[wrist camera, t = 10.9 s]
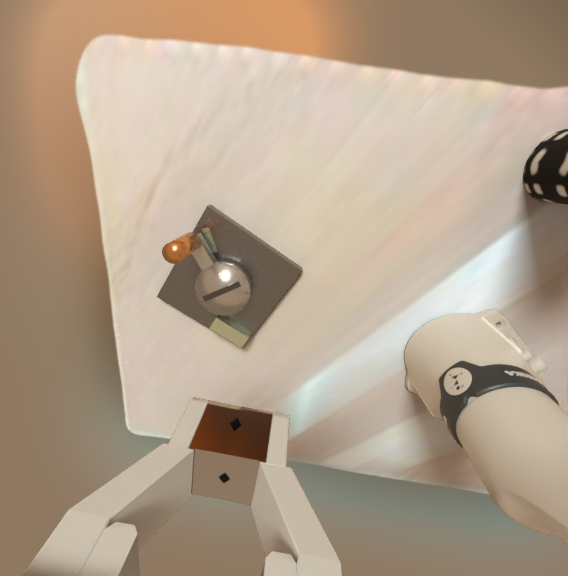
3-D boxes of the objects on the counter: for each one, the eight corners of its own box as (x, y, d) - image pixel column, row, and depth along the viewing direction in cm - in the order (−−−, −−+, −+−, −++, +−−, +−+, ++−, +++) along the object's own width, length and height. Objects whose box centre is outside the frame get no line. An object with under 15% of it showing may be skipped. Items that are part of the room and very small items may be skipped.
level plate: (302, 267, 43) (301, 275, 39) (244, 343, 49) (239, 355, 46) (210, 204, 40) (202, 207, 37) (161, 292, 46) (151, 301, 43)
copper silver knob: (217, 217, 39) (195, 229, 31) (261, 297, 43) (251, 325, 35) (171, 241, 41) (139, 258, 33) (217, 315, 45) (198, 346, 37)
